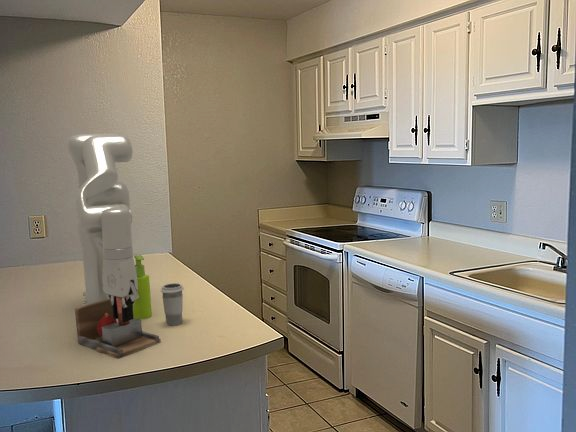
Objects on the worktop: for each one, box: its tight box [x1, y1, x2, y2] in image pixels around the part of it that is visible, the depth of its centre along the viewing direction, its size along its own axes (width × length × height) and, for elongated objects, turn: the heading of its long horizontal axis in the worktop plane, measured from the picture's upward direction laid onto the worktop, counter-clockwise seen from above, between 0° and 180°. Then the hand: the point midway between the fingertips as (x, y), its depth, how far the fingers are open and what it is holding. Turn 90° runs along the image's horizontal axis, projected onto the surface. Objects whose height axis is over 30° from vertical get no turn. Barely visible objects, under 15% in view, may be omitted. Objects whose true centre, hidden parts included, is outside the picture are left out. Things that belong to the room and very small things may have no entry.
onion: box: [97, 313, 118, 338], centre depth 159 cm, size 6×6×8 cm
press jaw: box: [102, 297, 143, 347], centre depth 155 cm, size 5×10×15 cm, turn 142°
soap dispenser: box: [133, 254, 153, 320], centre depth 179 cm, size 6×7×20 cm
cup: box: [160, 282, 185, 327], centre depth 172 cm, size 7×7×12 cm
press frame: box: [74, 298, 162, 359], centre depth 157 cm, size 20×14×10 cm
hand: (123, 318), depth 154 cm, fingers open, 3 cm apart
